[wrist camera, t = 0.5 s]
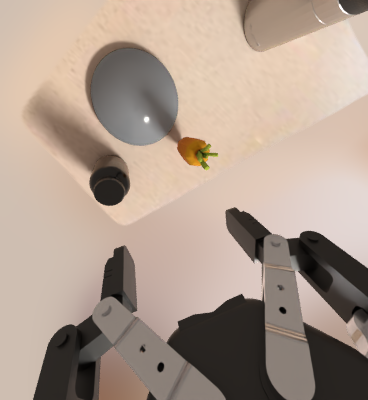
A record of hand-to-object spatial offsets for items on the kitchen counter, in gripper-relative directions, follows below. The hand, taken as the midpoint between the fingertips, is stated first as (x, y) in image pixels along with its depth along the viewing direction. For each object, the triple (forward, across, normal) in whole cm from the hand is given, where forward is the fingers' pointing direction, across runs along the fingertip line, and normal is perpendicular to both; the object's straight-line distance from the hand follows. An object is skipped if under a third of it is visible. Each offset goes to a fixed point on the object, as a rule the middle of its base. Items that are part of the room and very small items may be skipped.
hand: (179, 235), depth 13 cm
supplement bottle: (+30, +8, +2) cm, 31 cm away
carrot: (+30, -8, +1) cm, 31 cm away
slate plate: (+30, -1, -9) cm, 31 cm away
